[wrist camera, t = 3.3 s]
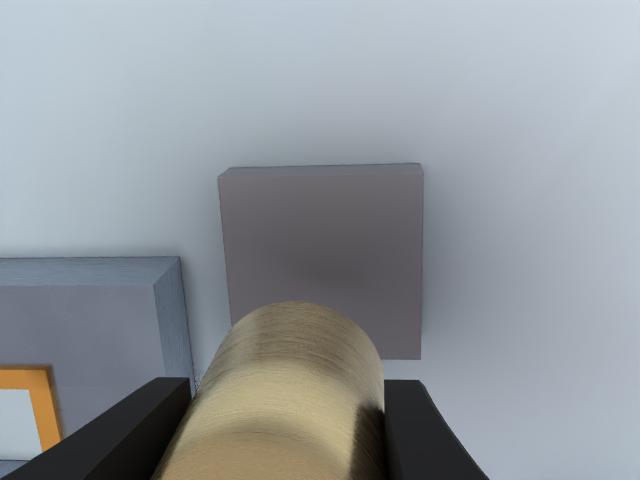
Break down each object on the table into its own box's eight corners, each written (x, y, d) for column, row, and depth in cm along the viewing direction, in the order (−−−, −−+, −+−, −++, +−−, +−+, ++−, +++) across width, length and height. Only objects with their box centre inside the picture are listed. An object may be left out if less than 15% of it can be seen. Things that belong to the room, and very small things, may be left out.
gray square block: (417, 337, 20) (420, 359, 18) (244, 337, 20) (234, 358, 19) (419, 163, 18) (423, 173, 17) (229, 168, 19) (217, 177, 17)
